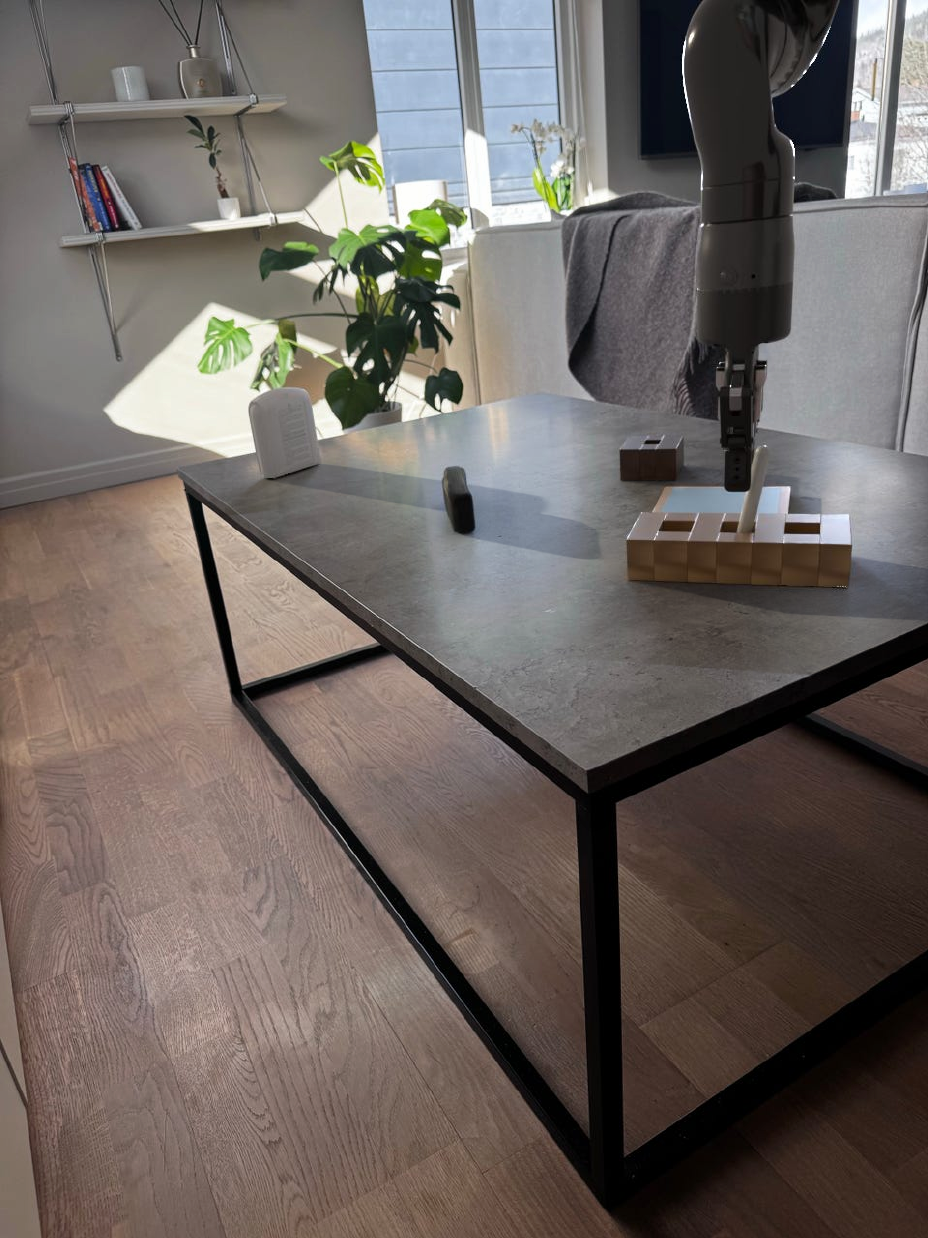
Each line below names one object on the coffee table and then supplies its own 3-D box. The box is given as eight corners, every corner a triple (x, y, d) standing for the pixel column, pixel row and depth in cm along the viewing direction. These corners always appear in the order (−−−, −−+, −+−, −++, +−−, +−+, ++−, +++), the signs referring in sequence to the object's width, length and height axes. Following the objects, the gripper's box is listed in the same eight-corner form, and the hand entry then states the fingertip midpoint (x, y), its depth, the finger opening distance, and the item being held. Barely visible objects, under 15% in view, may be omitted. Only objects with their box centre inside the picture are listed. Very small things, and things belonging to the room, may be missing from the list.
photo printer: (308, 460, 140) (294, 381, 135) (326, 463, 137) (312, 382, 132) (256, 478, 133) (239, 395, 128) (274, 481, 130) (257, 396, 125)
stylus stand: (683, 464, 116) (683, 434, 114) (676, 480, 110) (676, 448, 108) (630, 465, 118) (629, 435, 116) (620, 480, 112) (619, 449, 111)
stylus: (743, 566, 83) (772, 444, 77) (742, 571, 82) (771, 448, 76) (729, 563, 83) (757, 442, 78) (728, 568, 82) (756, 446, 77)
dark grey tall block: (475, 492, 97) (460, 456, 111) (448, 495, 97) (436, 460, 110) (479, 534, 99) (464, 495, 113) (453, 538, 99) (440, 498, 113)
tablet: (790, 493, 100) (790, 485, 100) (784, 549, 85) (785, 539, 85) (665, 493, 105) (665, 485, 105) (638, 546, 90) (638, 536, 90)
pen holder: (846, 555, 82) (849, 514, 81) (848, 588, 76) (852, 544, 74) (642, 549, 89) (641, 511, 87) (627, 580, 82) (626, 539, 81)
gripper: (790, 285, 65) (780, 510, 72) (795, 269, 77) (786, 464, 84) (686, 293, 68) (686, 509, 75) (706, 276, 79) (704, 464, 86)
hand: (739, 484), depth 79 cm, fingers closed
